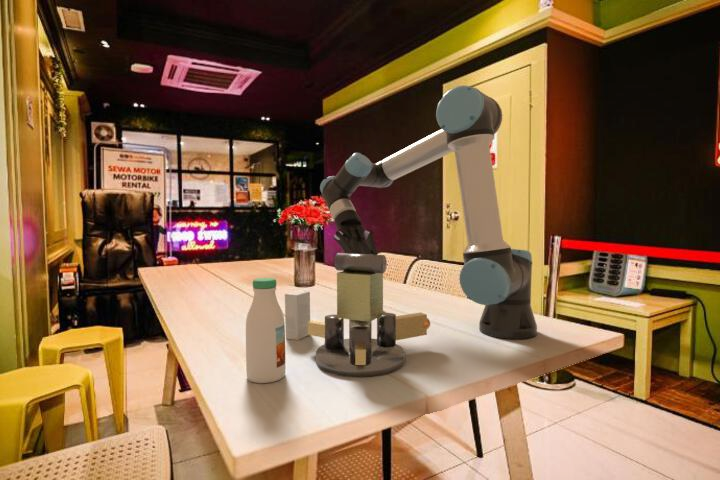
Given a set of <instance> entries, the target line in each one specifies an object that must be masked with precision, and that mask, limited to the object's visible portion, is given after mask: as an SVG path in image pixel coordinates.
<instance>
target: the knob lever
mask: <svg viewBox="0 0 720 480" xmlns="http://www.w3.org/2000/svg"><path fill="white" fill-rule="evenodd" d="M430 327H431V321H430V319H429V318H428V315H427V314H426V313H423V312H415V313H409V314H402V315H401V314H400V315H396V314H395V313H392V312H383V315H381V316H380V317H378V318H376V339H377V346H379V347H384V348H389V347H394V346H396V344H397V341H401V340H406V339H410V338H412V339H413V338H417V337H422V336H427V334H428V329H429V328H430Z"/></svg>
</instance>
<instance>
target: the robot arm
mask: <svg viewBox="0 0 720 480" xmlns="http://www.w3.org/2000/svg"><path fill="white" fill-rule="evenodd" d="M435 112H436V113H435V117H436V121H437V124H438V126H439V127H440V129H438V130H437V131H435V132H433V133H431V134H429V135H427V136H426V137H423V138H421V139H419V140H418V141H416V142H413V143H412V144H410V145H408V146H406V147H405V148H403V149H400V150H399V151H397V152H395V153H393V154H391V155H389V156H386V157H385V158H383V159H382V160H379V161H378V162H376V163H373V162H372V161H371V160H370V159H369V158H368V157H367V156H366V155H364V154H362V153H361V152H354V153H353V154H352V155H350V156H349V158H348V159H346V161H345V162H344V164H343V165H342V167H341V168H340V170H339V171H338V172H337V173H336V175H332V176H328V177H326V179H325V178H324V179H323V180H322V181H321V183H320V186H319V191H320V192H321V195H322V199H323V200H324V202H325V204H326V206H327V208H328V211H329V213H330V216H331V217H332V220H333V222H334V225H335V227H336V229H337V231H335V233H334V236H333V237H332V238H333V240H335V241H336V242H337V243H338V245H339V246H340V247H341V249H342V250H343V253H350V254H372V255H378V251H377V248H376V243H375V240H374V231H373V230H370V231H368V230H366V228H365V227H364V226H363V225H362V221H361V218H360V216H359V215H358V213H357V211H356V208H355V206H354V204H353V203H352V201H351V198H350V197H351V196H352V194H353V193H354V192H355V191H356V190H357V188H358V187H361V186H362V187H371V188H376V189H377V188H379V189H382V188H387V187H390V186H392V184H393V182H394V181H395V180H397V179H399V178H401V177H403V176H406V175H407V174H410V173H412V172H415V170H418V169H420V168H422V167H424V166H427V165H428V164H430V163H433V162H435V161H437V160H438V159H441V158H444V157H445V156H448V155H449V154H451V153H454V156H455V163H456V170H457V177H458V184H459V191H460V198H461V199H460V200H461V206H462V212H463V218H464V219H463V220H464V227H465V235H466V241H467V246H466V247H465V248H464V250H463V251H462V256H463V263H464V264H463V266H462V268H461V270H460V271H459V280H458V281H459V284H460V288H461V291H462V292H463V293H464V295H465V296H466V297H467V298H468V299H470V301H472V302H473V303H476V304H477V305H478V304H479V305H483V306H484V308H483V311H482V312H481V313H482V314H481V316H480V319H479V325H478V327H479V332H481V333H482V334H485V335H487V336H491V337H494V338H500V339H509V340H523V339H525V340H526V339H530V338H534V337H536V336H537V335H538V324H537V322H536V318H535V315H534V312H533V309H532V306H531V305H532V303H531V302H532V274H533V273H532V271H533V270H532V267H533V261H532V260H533V257H532V256H533V255H532V253H531V252H530V251H529V250H525V249H516V248H512V247H511V245H510V244H508V243H507V242H506V241H504V238H503V230H502V223H501V222H502V221H501V216H500V209H499V203H498V197H497V188H496V184H495V183H496V181H495V175H494V174H495V173H494V169H493V167H494V166H493V162H492V156H491V155H492V153H491V149H490V148H491V147H490V145H491V144H492V142H493V141H494V139H495V135H496V133H497V132H498V131H499V129H500V127H501V125H502V121H503V112H502V107H501V106H500V104H499V103H498V102H497V101H496V100H495V99H493V98H492V97H490V96H488V95H487V94H485V93H483V92H482V91H481V90H479V89H478V88H476V87H472V86H469V85H465V84H464V85H458V86H454V87H452V88H451V89H449V90H448V91H447V92H446V93H444V94H443V95H442V97H441V99H440V100H439V102H438V103H437V107H436V111H435Z"/></svg>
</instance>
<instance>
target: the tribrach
mask: <svg viewBox="0 0 720 480" xmlns="http://www.w3.org/2000/svg"><path fill="white" fill-rule="evenodd" d="M387 262H388V260H387V257H386V255H384V254H377V255H372V254H363V253H362V254H350V253H345V252H337V253H336V254H335V257H334V261H333V264H334V268H335V270H336V271H338V272H336V314H328V315H325V316H324V321H318V320H310V322H308V336H311V337H312V336H313V337H317V338H318V337H319V338H324V344H322V345H320V346H318V348H317V349H316V351H315V364H316V366H317V367H318V368H319V369H320V370H323V371H324V372H325V373H328V374H332V375H336V376H339V377H340V376H341V377H348V378H349V377H350V378H371V377H379V376H384V375H389V374H391V373H395V372H396V371H399V370H400V369H402V368H403V367H404V365H405V363H406V351H405V348H404V347H402V346H401V345H399V344H398V343H396V346H394V347H389V348H384V347H379V346H377V338H372V337H373V336H372V330H373V329H372V325H373V324H372V323H373V321H374V320H377V318H378V317H380V316H381V315H383V313H384V273H385V272H386V270H387V266H388V265H387ZM344 320H348V327H349V329H348V330H349V331H348V333H349V335H348V336H349V337H348V338H345V333H344V332H345V326H344V325H345V321H344Z"/></svg>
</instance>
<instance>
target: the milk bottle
mask: <svg viewBox="0 0 720 480" xmlns="http://www.w3.org/2000/svg"><path fill="white" fill-rule="evenodd" d="M252 291H253V293H254V294H253V297H252V301H251V304H250V307H249V309H248V311H247V314H246V319H245V358H246V359H245V362H246V367H245V369H246V377H247V380H248V381H249V382H252V383H256V384H270V383H274V382H277V381H280V380H281V379H283V378H284V377H285V375H286V324H285V316H284V313H283V310H282V308H281V306H280V304H279V302H278V299H277V295H276V294H277V293H276V291H277V279H276V278H273V277H257V278H254V279H253V280H252Z"/></svg>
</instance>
